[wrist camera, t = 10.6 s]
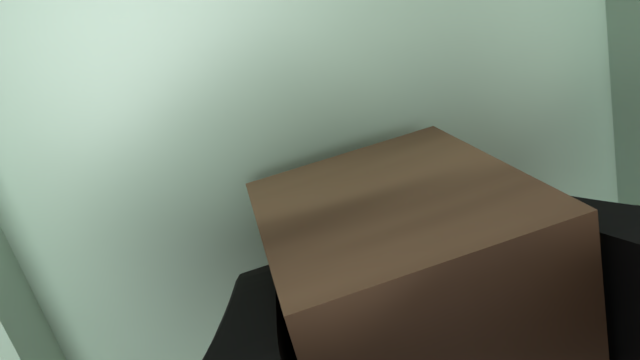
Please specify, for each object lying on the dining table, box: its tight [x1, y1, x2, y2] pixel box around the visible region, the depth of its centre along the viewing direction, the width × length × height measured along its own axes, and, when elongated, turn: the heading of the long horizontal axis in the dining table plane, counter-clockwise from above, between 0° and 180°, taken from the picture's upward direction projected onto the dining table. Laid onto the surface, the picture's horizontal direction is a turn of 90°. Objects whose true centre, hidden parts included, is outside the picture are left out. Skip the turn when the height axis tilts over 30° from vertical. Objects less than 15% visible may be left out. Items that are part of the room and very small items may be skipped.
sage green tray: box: [0, 0, 640, 360], centre depth 13 cm, size 18×16×2 cm
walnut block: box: [246, 126, 609, 360], centre depth 10 cm, size 4×4×5 cm
